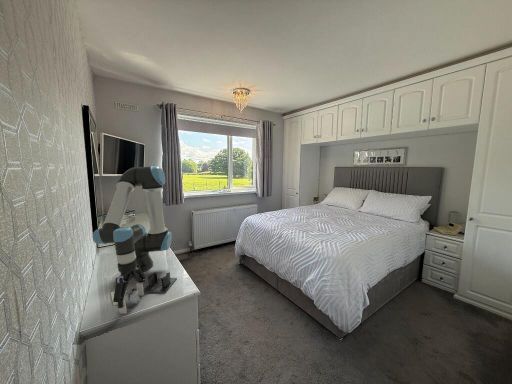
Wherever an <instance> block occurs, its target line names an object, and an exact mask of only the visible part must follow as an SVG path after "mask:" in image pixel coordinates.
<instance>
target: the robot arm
mask: <svg viewBox="0 0 512 384" xmlns="http://www.w3.org/2000/svg"><path fill="white" fill-rule="evenodd" d="M166 179H167V178H166V175H165V172H164V170H163V169H162V168H161V166H155V165H154V166H153V165H151V166H138V167H137V166H136V167H135V166H134V167H130V168H129V169H128V170H126V171H124V173H122V174H121V176H120V177H119V178H118V179H117V182H116V184H115V186H116V190H115V193H114V196H113V197H112V198H113V199H112V200H111V204H110V206H109V208H108V211H107V214H106V216H105V218H104V221H103V225H102V226H101V228H97V229H95V231H93V233H92V240H93V242H94V243H95V244H97V245H107V244H114V249H115V255H116V262H117V270H118V272H119V273H120V277H116V278H115V286H114V287H115V288H114V291H115V292H114V298H113V302H118V305H117V308H118V309H119V314H120V315H121V314H124V315H125V314H127V313H128V310H127V308H126V303H125V299H124V295H125V292H126V289H127V287H128V285H129V284H130V281H131V280H135V281H136V289H138V290H139V297H140V296H144V295H145V293H144V290H143V289H144V282H145V281H146V280H145V279H146V276H145V274H144V272H145V271H148V270H149V269H151V268H153V266H154V261H153V259H152V257H151V255H150V253H152V252H163V251H168V250H169V249H170V248H171V245H172V241H173V234H172V232H171V231H169V228H168V227H166V224H165V217H164V209H163V208H164V207H163V200H162V189H163V187H164V185H165V184H166ZM137 187H141V190H143V191H144V192H145V198H146V199H145V200H146V206H147V214H148V221H149V229H148V231H147V229H146V228H145V226H144V225H142V224H139V223H138V224H133V225H131V226H124V227H123V226H122V224H123V223H122V222H123V220H124V217H125V214H126V210H127V206H128V204H129V202H130V198H131V195H132V192H134V191H135V189H136V188H137ZM121 226H122V227H121Z"/></svg>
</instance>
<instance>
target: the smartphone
mask: <svg viewBox="0 0 512 384" xmlns="http://www.w3.org/2000/svg"><path fill="white" fill-rule="evenodd" d="M126 291H128V289H127V288H126ZM114 292H115V290H113V291H111V292H110V293H109V295H110V300H111V304H112V307H116V306H118V302H113V298H114Z"/></svg>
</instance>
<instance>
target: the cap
mask: <svg viewBox="0 0 512 384" xmlns="http://www.w3.org/2000/svg"><path fill="white" fill-rule="evenodd" d="M140 298H141V297H140V296H139V290H138V289H137V288H131V289H127V291H126V292H125V295H124V299H125V303H126V309H133V308H135V307H137V306H138V305H139V304H140V303H141V299H140Z"/></svg>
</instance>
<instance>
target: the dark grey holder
mask: <svg viewBox="0 0 512 384" xmlns="http://www.w3.org/2000/svg"><path fill="white" fill-rule="evenodd" d="M165 274H166V275H165V276H163V277H158V274H157V272H153V273H151V274H150V275H148V277H147V285H146V286H145V287H143V290H144V294H165V293H167V292H168V291H169V289H171V287H172V286H173V284H174V283H176V281H177V279H178V278H177V277H171V273H170V272H166V273H165Z"/></svg>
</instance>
